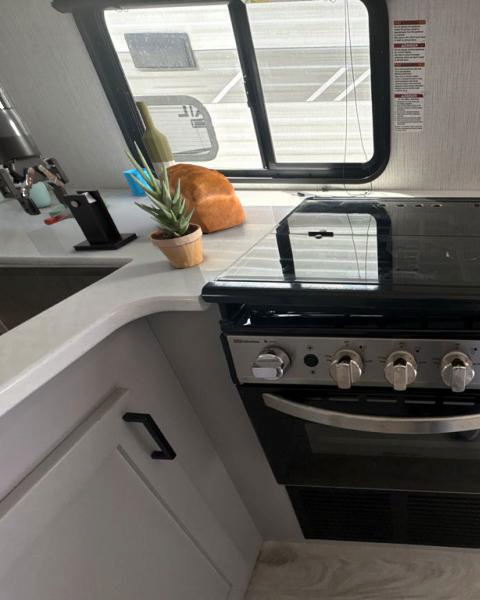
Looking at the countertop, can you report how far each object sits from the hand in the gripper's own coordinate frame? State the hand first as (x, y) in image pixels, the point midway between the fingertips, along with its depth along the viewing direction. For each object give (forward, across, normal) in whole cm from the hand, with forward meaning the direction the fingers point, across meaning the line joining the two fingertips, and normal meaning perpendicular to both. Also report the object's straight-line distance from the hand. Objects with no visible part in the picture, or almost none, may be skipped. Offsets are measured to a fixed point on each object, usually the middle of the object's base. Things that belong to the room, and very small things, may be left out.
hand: (51, 209), depth 79 cm
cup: (+9, -37, -40) cm, 55 cm away
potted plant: (+10, +13, +36) cm, 39 cm away
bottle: (+9, -43, +3) cm, 45 cm away
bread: (+10, -16, +27) cm, 33 cm away
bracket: (+9, 0, +9) cm, 13 cm away
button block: (+9, -28, -20) cm, 36 cm away
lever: (+1, 0, +5) cm, 5 cm away
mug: (+9, -50, -12) cm, 52 cm away
